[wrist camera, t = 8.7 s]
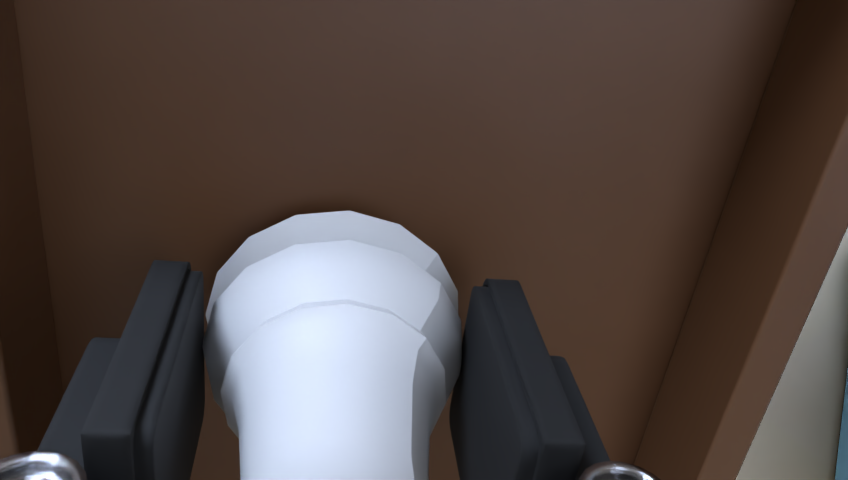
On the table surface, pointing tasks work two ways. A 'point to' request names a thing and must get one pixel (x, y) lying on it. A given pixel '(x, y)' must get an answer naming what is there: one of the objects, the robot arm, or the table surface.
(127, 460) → the robot arm
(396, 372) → the rook chess piece
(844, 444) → the chair
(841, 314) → the table surface
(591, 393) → the tray
